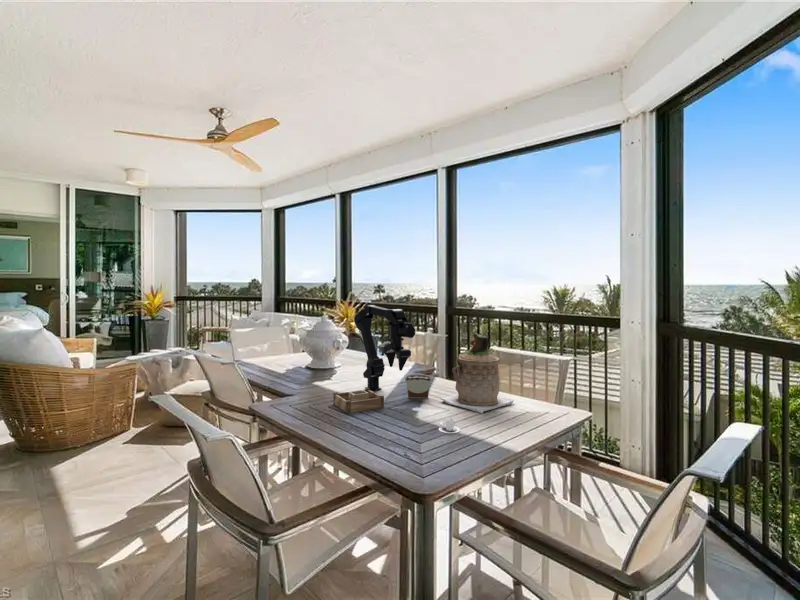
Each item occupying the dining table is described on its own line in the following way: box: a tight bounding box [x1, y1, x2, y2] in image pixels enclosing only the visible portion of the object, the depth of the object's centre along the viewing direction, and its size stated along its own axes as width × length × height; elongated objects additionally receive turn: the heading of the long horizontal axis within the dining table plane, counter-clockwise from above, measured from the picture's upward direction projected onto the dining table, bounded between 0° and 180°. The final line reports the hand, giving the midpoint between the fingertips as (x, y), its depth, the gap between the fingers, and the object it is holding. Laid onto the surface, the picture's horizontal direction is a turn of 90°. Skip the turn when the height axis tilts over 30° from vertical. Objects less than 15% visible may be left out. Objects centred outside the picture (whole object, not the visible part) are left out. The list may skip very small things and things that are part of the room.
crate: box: [333, 387, 385, 414], centre depth 195 cm, size 16×17×5 cm
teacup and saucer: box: [438, 418, 461, 434], centre depth 165 cm, size 9×8×4 cm
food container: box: [404, 373, 432, 399], centre depth 210 cm, size 12×6×10 cm, turn 84°
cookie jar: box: [439, 332, 515, 415], centre depth 199 cm, size 25×25×32 cm
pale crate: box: [347, 389, 369, 402], centre depth 195 cm, size 6×7×5 cm
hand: (395, 368), depth 210 cm, fingers open, 9 cm apart
